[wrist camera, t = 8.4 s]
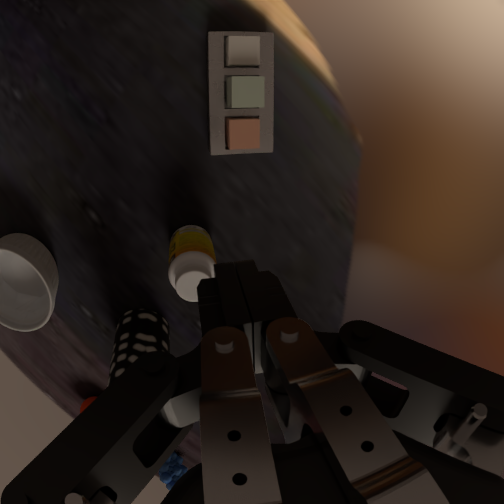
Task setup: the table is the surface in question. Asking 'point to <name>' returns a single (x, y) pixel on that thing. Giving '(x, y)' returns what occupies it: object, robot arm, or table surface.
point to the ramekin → (26, 282)
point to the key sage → (245, 91)
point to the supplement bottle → (190, 260)
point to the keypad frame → (219, 94)
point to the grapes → (172, 470)
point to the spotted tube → (137, 339)
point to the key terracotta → (242, 132)
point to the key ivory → (242, 51)
